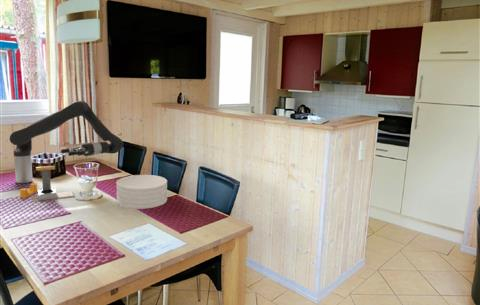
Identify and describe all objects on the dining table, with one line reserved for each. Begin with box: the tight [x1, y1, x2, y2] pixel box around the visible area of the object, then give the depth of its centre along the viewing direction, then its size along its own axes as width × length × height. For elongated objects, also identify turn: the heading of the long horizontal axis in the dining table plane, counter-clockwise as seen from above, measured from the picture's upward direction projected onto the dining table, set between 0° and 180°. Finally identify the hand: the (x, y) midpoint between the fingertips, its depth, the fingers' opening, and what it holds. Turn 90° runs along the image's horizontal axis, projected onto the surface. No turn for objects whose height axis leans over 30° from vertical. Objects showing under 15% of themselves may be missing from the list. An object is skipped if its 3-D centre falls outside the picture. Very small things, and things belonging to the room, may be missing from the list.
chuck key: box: [35, 165, 56, 193], centre depth 200 cm, size 4×9×18 cm, turn 122°
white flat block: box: [37, 187, 58, 202], centre depth 202 cm, size 9×9×4 cm
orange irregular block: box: [19, 182, 38, 199], centre depth 205 cm, size 12×4×6 cm, turn 0°
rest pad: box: [56, 191, 75, 199], centre depth 207 cm, size 8×8×1 cm
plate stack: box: [115, 174, 168, 210], centre depth 208 cm, size 28×28×12 cm
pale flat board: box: [31, 191, 76, 203], centre depth 204 cm, size 11×21×2 cm, turn 122°
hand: (64, 152), depth 206 cm, fingers open, 8 cm apart
